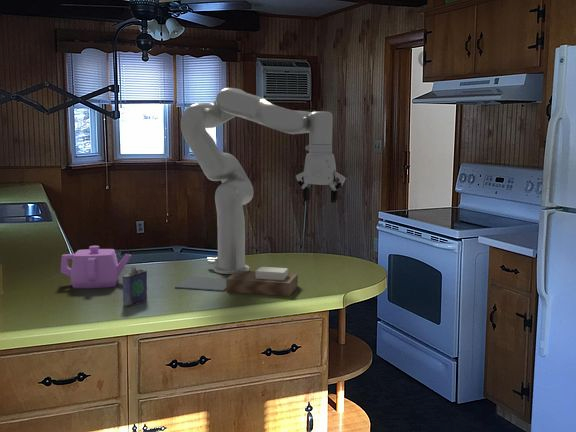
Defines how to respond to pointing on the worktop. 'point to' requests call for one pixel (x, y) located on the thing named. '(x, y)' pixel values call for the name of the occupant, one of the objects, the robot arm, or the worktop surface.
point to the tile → (271, 273)
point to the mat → (203, 284)
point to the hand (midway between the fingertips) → (320, 201)
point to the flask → (134, 287)
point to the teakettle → (93, 267)
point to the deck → (260, 284)
